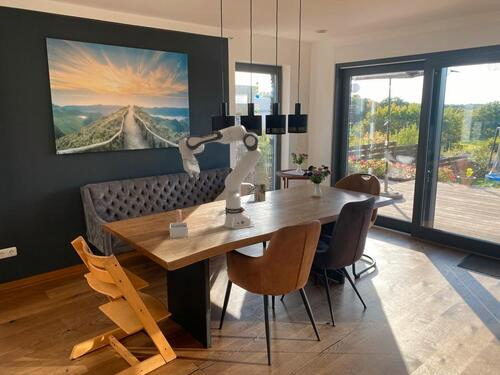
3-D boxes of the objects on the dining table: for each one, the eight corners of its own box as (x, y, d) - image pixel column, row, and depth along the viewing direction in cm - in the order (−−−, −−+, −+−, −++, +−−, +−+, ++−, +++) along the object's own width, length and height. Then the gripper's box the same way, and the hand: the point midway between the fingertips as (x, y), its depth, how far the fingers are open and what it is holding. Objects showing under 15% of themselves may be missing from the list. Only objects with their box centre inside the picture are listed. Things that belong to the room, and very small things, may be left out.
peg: (182, 227, 282) (181, 209, 279) (182, 229, 278) (181, 210, 275) (176, 228, 281) (175, 209, 278) (176, 229, 277) (175, 211, 274)
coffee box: (261, 199, 370) (261, 183, 367) (265, 200, 365) (265, 184, 362) (253, 201, 365) (253, 184, 362) (258, 202, 360) (258, 185, 357)
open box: (187, 231, 273) (187, 222, 272) (187, 236, 261) (187, 227, 260) (170, 232, 271) (170, 223, 270) (170, 237, 259) (169, 228, 258)
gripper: (186, 156, 266) (192, 174, 264) (198, 160, 286) (204, 178, 283) (178, 159, 267) (184, 178, 265) (191, 164, 287) (196, 181, 285)
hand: (194, 178), depth 274 cm, fingers open, 8 cm apart
